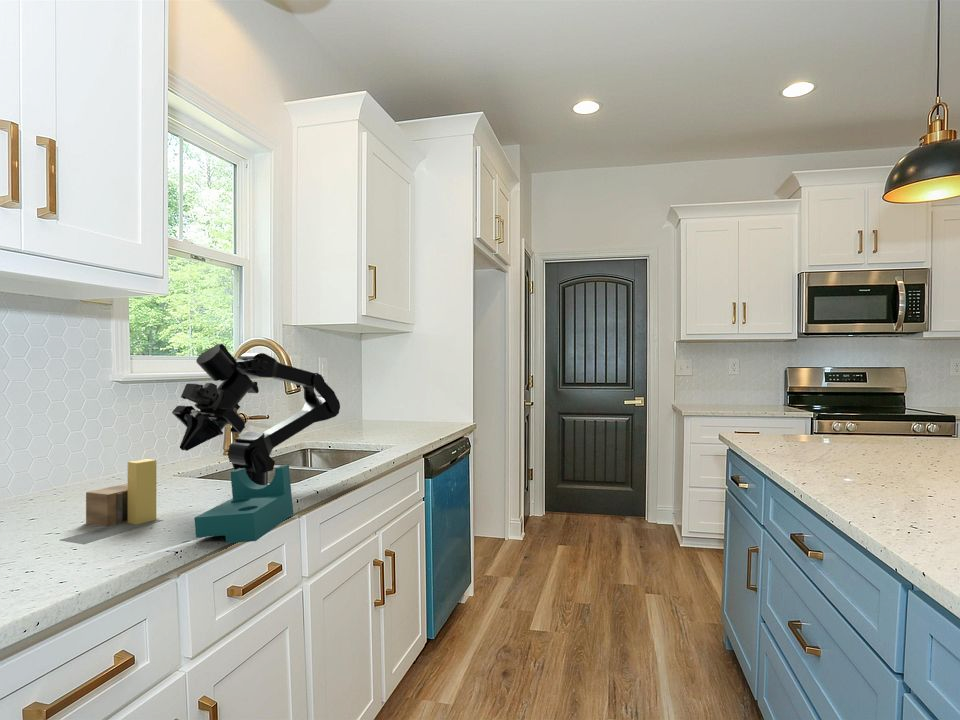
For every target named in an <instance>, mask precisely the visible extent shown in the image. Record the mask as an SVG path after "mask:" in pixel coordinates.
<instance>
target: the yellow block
mask: <svg viewBox="0 0 960 720" xmlns="http://www.w3.org/2000/svg"><path fill="white" fill-rule="evenodd" d="M127 483H128V523H132V524H136V525H137V524H141V523H145V522H149V521H153V520H156V519H157V460H156V459H150V458H145V459H139V460H132V461H127Z"/></svg>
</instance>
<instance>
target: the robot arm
mask: <svg viewBox="0 0 960 720" xmlns="http://www.w3.org/2000/svg"><path fill="white" fill-rule="evenodd" d="M196 363H197V365H198V366H199V367H200V368H201V369H202V370H203V371H204V372H205V373H206V374H207V375H208V376H209V378H210V379H212V380H213V381H215V382H218V381H220V382H221V383H220V384H219V385H217V384H215V383H213V382H206V383H205V384H204V385H203V384H199V383H186V384H185V387H184V388H183V390H182V393H181V395H180V398H181V399H183V400H188V401H190V402H193V403H195V404H194V406H193V405H185V404H183V405H177V406H176V407H175V408H174V409H173V410H172V411H171V414H172V415H173V416H175V417H176V419H177V420H179V422H181V424H183V425H184V426H185V427H186V429H185V432H184V435H183V437H182V441H181V442H180V445H179V449H180V450H182V451H185V452H186V451H187V452H188V451H190V450H192V449H194V448H195V447H197V446H199V445H202V444H203V443H205V442H207V441H209V440H211V439H214V438H216V437H218V436H222V435H223V434H224V431H223V429H224V428H225V427H228V425H230V426H231V428H230V433H232V434H237V435H241V434H242V432H243V430H244V429H246V421H245V419H243V418H242V417H241V415H240V414H239V413H238V412H237V411H238V410H239V409H240V408H241V406H240V405H239V403H240V402H241V401H242V400H243V398H245V396H246V395H247V394H259V391H260V389H259V387H258V382H257V381H252V379H251V378H269V379H270V378H271V379H273V380H278V381H281V382H285V383H286V382H287V383H290V384H294V385H298V386H302V388H303V395H304V396H303V398H304V401H305V403H304V405H303V407H302V409H301V410H299V411H297V412H296V413H294V414H292V415H290V416H289V417H287V418H286V419H283V420H282V421H280V422H278V423H277V424H275V425H273V426H272V427H269V428H267V430H265V431H263V432H260V431H258V432H257V431H250V430H249V431H246V432H244V433H243V434H242V435H241V436H239V437H235V438H233V440H234V441H233V442H232V443H230V444H229V447H228V450H227V456H228V459H229V461H230V463H231V465H232V468H233V471H234V470H237V469H240V468H245V469H246V473H247V475H248V477H249V478H250V480H251V481H253V482H254V483H256V484H258V485H269V481H268V479H269V475H268V474H269V472H272V471H273V470H274V469H275V468H274V467H275V464H276V461H275V460H274V459H273V458H272V457H271V456H270V455H271V454H272V451H273V449H275V448H276V447H277V446H279V445H280V444H283V443H284V442H286V441H287V440H288V439H290V438H292V437H294V436H295V435H296V434H298V433H300V432H301V431H303V430H304V429H307V428H308V427H309V426H311V425H313V424H314V423H317V422H323V421H328V420H330V419H333V418H335V417H337V416H338V415H339V414H340V409H341V404H340V401H339V399H338V397H337V395H336V393H335V390H333V389H332V388H331V386H329V385H328V383H326V382H325V379H324V377H323V376H322V374H320V373H318V372H311V371H308V370H304V369H301V368H297V367H294V366H290V365H287V364H284V363H280V362H279V361H277V359H276V358H274V357H272V356H270V355H269V354H267V353H263V352H254V353H253V352H252V353H251V352H248V353H243V354H242V355H240V356H239V358H235V357H234V356H233V355H232V354H231V352H230V351H229V350H228V349H227V347H226V346H225V344H224V343H216V344H215V345H214V346H212V347H210V348H207V349H206V350H205V351H204V352H201V353H200V354H199V356H198V357H197V358H196ZM315 391H316V392H317V393H318V394H319V395H316V392H315Z"/></svg>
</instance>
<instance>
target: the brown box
mask: <svg viewBox="0 0 960 720" xmlns="http://www.w3.org/2000/svg"><path fill="white" fill-rule="evenodd" d="M125 521H128V482H127V483H123V484H117V485H112V486H108V487H105V488H99V489H95V490H91V491H86V492H85V524H86V525H95V526H102V527H107V526H111V525H114V524H121V523H122V522H125Z"/></svg>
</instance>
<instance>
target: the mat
mask: <svg viewBox="0 0 960 720" xmlns="http://www.w3.org/2000/svg"><path fill="white" fill-rule="evenodd" d="M163 521H164V519H157V518H156V520H153V521H149V522H145V523H141V524H137V525H136V524H132V523H128V521H125V522H122V523H121V524H114V525H111V526H103V527H100V528H97V529H94V530H89V531H86V532H82V533H79V534H74V535H72V536H71V535H70V536H69V537H64V538H61V539H60V541H62V542H68V543H74V544H81V545H87V544H89V543H92V542H96V541H99V540H103V539H106V538H109V537H112V536H116V535H119V534H123V533H126V532H130V531H132V530H137V529H140V528H143V527H146V526H150V525H153V524H156V523H161V522H163Z"/></svg>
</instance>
